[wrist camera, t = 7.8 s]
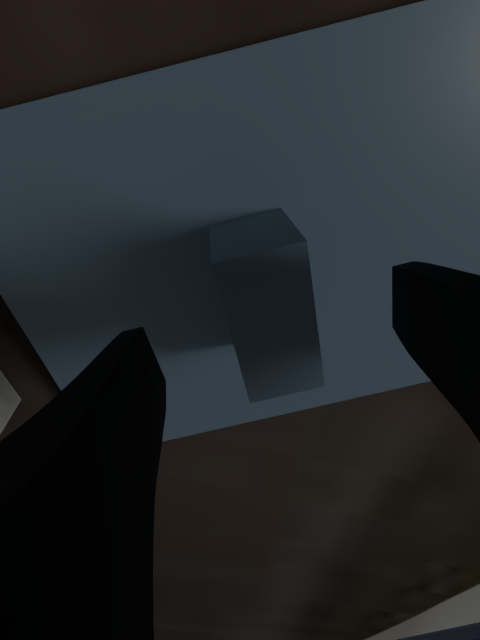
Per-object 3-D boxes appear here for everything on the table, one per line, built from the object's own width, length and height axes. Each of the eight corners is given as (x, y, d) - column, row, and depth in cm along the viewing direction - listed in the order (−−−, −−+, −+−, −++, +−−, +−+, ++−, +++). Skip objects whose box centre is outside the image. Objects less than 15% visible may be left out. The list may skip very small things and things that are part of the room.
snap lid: (450, 346, 19) (534, 428, 14) (110, 423, 19) (81, 527, 14) (488, -10, 11) (691, -89, 7) (-57, 130, 12) (-225, 148, 7)
